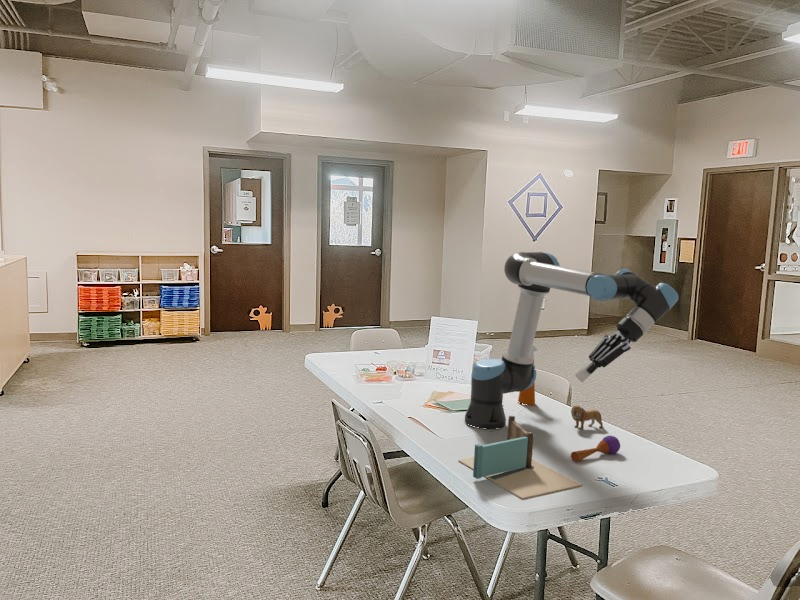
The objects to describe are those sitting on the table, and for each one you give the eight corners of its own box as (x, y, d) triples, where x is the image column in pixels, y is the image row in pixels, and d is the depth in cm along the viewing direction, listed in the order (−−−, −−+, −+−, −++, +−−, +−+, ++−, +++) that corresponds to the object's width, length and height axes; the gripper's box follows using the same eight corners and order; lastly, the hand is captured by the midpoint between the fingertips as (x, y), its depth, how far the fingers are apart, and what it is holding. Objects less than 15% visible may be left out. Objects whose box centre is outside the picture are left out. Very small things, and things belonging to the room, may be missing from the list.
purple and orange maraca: (566, 446, 203) (608, 432, 214) (568, 464, 203) (610, 450, 214) (580, 448, 198) (622, 434, 209) (583, 467, 198) (625, 452, 209)
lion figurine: (575, 432, 230) (577, 407, 229) (566, 427, 235) (567, 403, 234) (607, 428, 237) (609, 404, 236) (597, 424, 241) (599, 401, 240)
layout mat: (458, 461, 196) (458, 459, 196) (513, 451, 207) (513, 449, 207) (522, 499, 171) (522, 497, 171) (581, 485, 182) (581, 484, 181)
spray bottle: (506, 401, 266) (510, 340, 263) (529, 400, 270) (533, 339, 267) (515, 406, 260) (519, 343, 257) (538, 405, 264) (542, 342, 261)
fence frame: (505, 447, 210) (507, 415, 209) (511, 447, 211) (513, 415, 209) (525, 469, 192) (528, 434, 191) (532, 469, 192) (534, 434, 191)
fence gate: (522, 464, 193) (524, 434, 192) (526, 466, 192) (528, 436, 190) (473, 476, 182) (474, 444, 181) (477, 479, 181) (479, 446, 179)
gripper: (653, 337, 187) (596, 393, 186) (630, 330, 199) (576, 382, 199) (638, 319, 185) (580, 375, 184) (616, 313, 198) (562, 365, 197)
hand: (578, 378), depth 191 cm, fingers closed
